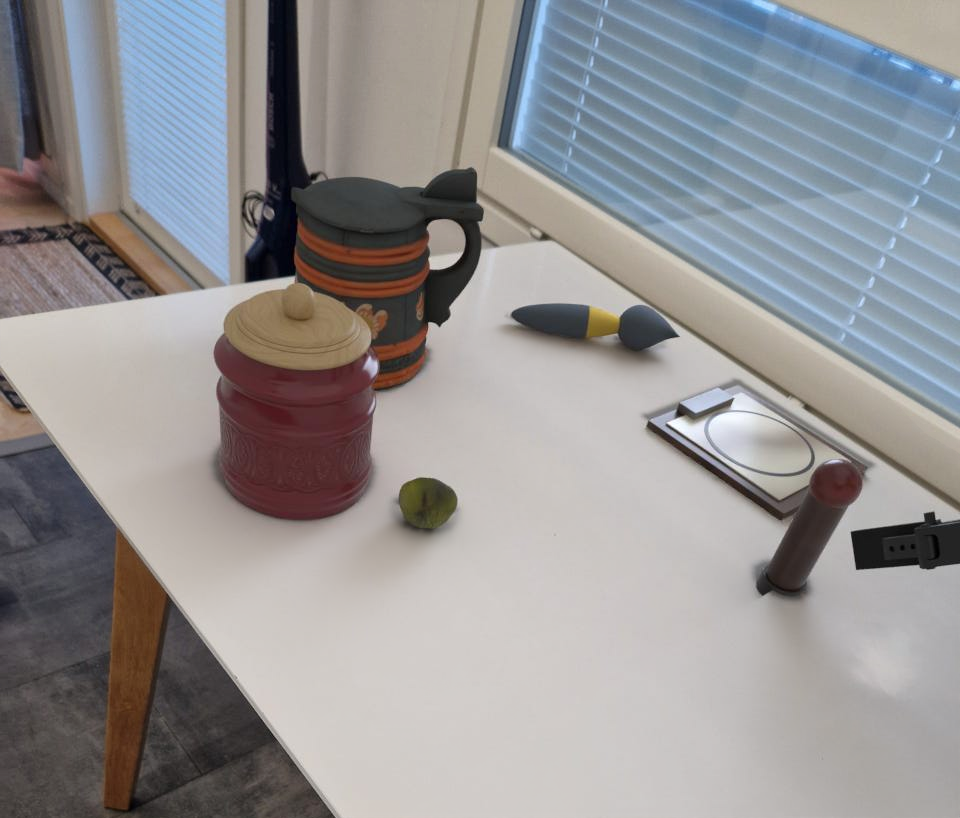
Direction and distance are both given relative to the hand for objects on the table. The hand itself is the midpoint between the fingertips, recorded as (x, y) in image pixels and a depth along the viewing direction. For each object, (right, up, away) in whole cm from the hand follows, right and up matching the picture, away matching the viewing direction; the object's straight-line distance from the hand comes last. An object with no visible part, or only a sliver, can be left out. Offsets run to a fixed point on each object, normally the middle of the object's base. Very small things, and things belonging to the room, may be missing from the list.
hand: (924, 534), depth 65 cm
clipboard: (-3, +13, +31) cm, 33 cm away
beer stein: (-44, +23, +31) cm, 58 cm away
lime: (-37, +2, +13) cm, 39 cm away
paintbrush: (-19, +28, +42) cm, 54 cm away
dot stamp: (-6, -3, +15) cm, 16 cm away
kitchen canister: (-49, +7, +15) cm, 51 cm away
